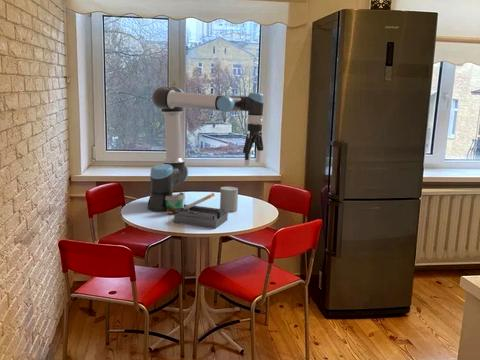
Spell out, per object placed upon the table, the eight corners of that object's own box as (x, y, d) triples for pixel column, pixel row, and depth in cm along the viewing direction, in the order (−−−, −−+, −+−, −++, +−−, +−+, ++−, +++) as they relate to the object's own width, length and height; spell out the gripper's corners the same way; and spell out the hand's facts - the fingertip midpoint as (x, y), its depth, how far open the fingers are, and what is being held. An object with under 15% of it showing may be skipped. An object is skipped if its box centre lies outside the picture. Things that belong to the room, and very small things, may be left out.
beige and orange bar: (181, 211, 236) (180, 209, 236) (185, 209, 241) (184, 206, 241) (211, 197, 230) (209, 194, 230) (214, 195, 234) (213, 192, 234)
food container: (174, 216, 243) (174, 197, 241) (165, 214, 246) (165, 195, 244) (189, 212, 253) (189, 193, 251) (180, 210, 256) (180, 191, 254)
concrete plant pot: (235, 213, 254) (236, 190, 251) (217, 211, 256) (218, 189, 253) (238, 209, 263) (239, 187, 260) (222, 207, 265) (222, 185, 262)
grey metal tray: (173, 222, 233) (174, 208, 231) (187, 214, 247) (188, 201, 246) (215, 228, 226) (216, 214, 224) (227, 220, 241) (227, 206, 239)
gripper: (251, 125, 231) (249, 168, 235) (270, 122, 253) (268, 162, 257) (237, 124, 234) (235, 166, 238) (258, 121, 256) (255, 160, 260)
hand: (252, 164), depth 248 cm, fingers open, 13 cm apart
